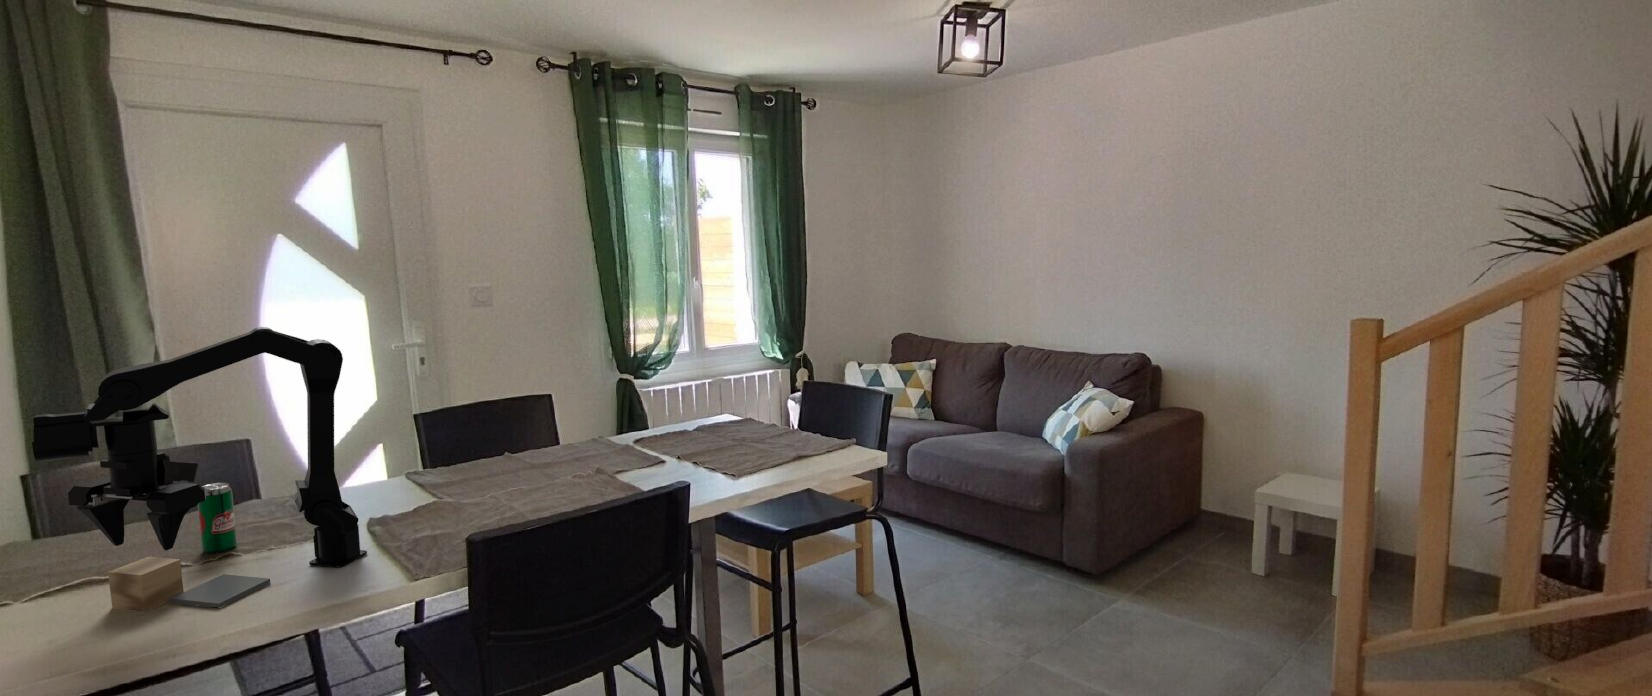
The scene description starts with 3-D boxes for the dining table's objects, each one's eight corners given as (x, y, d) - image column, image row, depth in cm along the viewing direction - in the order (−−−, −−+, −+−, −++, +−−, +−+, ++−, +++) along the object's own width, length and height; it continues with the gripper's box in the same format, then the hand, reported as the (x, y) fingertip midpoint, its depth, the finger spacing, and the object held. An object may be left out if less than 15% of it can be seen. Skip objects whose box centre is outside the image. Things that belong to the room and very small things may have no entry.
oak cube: (183, 594, 121) (180, 559, 121) (144, 612, 116) (140, 575, 115) (152, 591, 122) (148, 556, 122) (112, 608, 117) (108, 571, 116)
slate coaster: (270, 583, 126) (270, 578, 126) (219, 608, 117) (218, 603, 117) (224, 578, 127) (223, 574, 127) (170, 603, 118) (169, 598, 118)
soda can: (217, 555, 136) (211, 491, 135) (194, 552, 137) (188, 489, 136) (244, 544, 141) (238, 483, 140) (222, 542, 142) (216, 481, 141)
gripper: (233, 440, 122) (242, 532, 124) (137, 434, 125) (147, 524, 127) (163, 459, 111) (174, 559, 113) (59, 452, 114) (72, 550, 116)
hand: (143, 547), depth 118 cm, fingers open, 9 cm apart
